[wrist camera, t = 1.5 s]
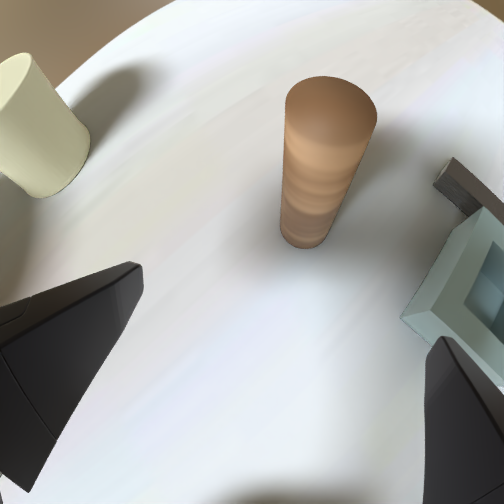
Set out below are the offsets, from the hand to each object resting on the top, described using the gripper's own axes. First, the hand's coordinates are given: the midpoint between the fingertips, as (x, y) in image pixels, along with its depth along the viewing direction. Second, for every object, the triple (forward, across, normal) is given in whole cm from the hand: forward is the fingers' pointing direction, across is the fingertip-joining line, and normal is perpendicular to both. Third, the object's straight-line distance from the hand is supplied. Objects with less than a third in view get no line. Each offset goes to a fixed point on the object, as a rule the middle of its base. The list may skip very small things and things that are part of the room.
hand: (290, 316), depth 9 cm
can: (+17, +26, +3) cm, 31 cm away
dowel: (+15, 0, +4) cm, 16 cm away
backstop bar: (+18, -18, +1) cm, 25 cm away
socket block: (+13, -14, +6) cm, 20 cm away
